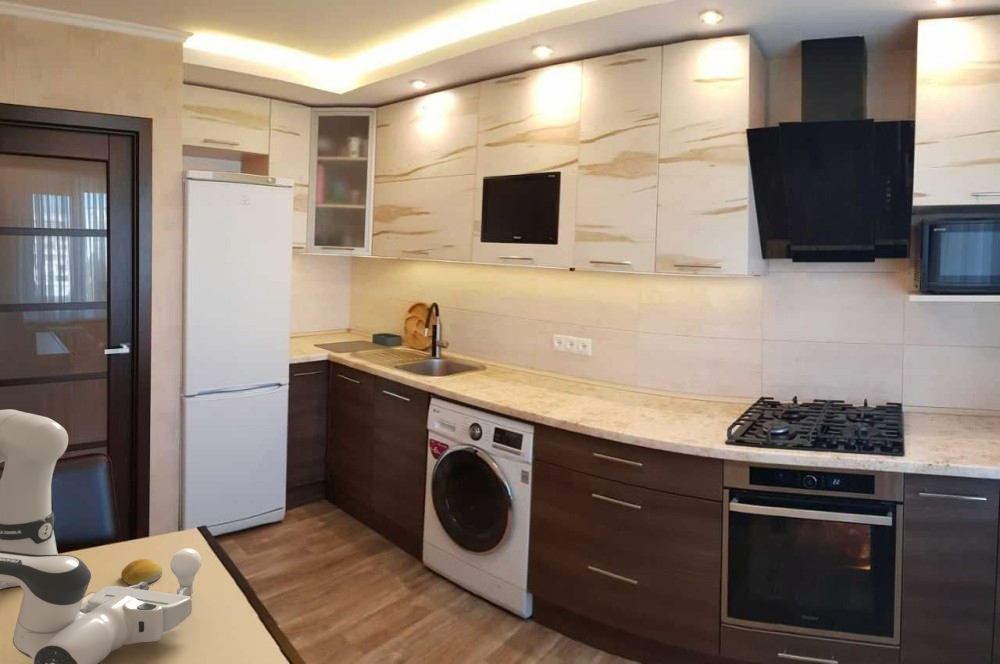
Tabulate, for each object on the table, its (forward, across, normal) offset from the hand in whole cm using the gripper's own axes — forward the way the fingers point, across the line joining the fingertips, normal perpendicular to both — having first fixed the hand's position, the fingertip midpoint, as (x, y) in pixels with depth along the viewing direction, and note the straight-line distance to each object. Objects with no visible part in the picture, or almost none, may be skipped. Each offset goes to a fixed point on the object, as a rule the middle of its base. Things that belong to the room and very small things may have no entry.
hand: (165, 587), depth 148 cm
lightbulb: (+8, -1, -6) cm, 10 cm away
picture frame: (-5, -13, -6) cm, 15 cm away
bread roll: (+14, -16, -6) cm, 22 cm away
